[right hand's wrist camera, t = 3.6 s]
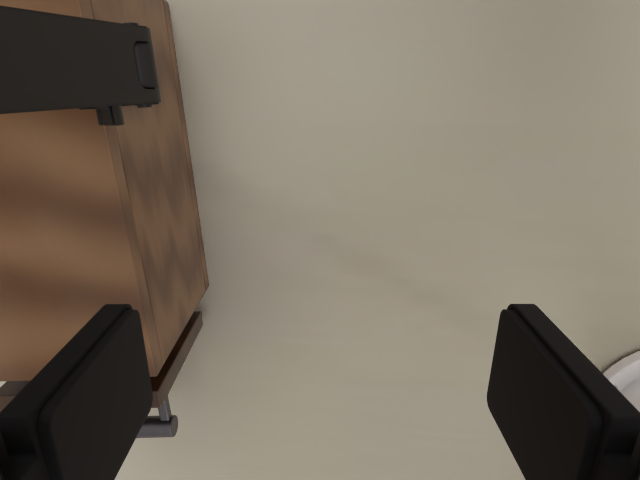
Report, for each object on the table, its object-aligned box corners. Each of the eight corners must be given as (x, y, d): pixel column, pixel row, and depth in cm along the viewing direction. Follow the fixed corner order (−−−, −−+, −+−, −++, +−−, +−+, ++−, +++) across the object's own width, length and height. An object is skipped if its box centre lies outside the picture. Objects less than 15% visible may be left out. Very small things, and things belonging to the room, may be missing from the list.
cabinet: (209, 285, 34) (156, 377, 23) (70, 290, 34) (-44, 383, 23) (168, 2, 27) (68, -51, 16) (-4, 10, 27) (-212, -37, 17)
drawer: (212, 382, 36) (176, 478, 27) (95, 385, 36) (22, 482, 27) (164, 73, 27) (90, 67, 19) (13, 79, 28) (-129, 77, 19)
